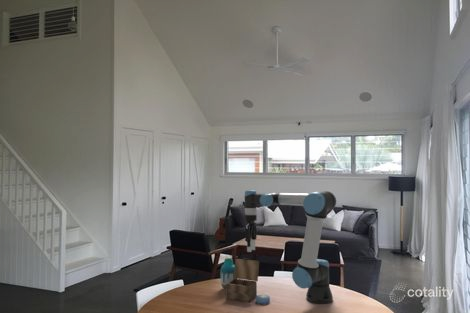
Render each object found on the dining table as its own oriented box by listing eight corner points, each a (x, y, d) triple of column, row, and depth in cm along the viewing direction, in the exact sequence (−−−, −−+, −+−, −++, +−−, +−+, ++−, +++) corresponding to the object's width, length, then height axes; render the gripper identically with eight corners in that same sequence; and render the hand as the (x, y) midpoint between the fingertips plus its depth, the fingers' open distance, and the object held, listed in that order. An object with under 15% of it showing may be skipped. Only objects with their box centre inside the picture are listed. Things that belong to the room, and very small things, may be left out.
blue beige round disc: (271, 300, 212) (271, 295, 212) (266, 305, 205) (266, 299, 205) (259, 298, 216) (258, 293, 216) (253, 303, 209) (253, 297, 209)
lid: (256, 281, 218) (257, 281, 220) (257, 259, 221) (259, 259, 223) (232, 278, 225) (234, 278, 227) (234, 257, 228) (236, 257, 230)
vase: (224, 292, 227) (223, 261, 227) (218, 287, 236) (218, 258, 237) (239, 290, 230) (239, 260, 231) (233, 285, 240) (233, 256, 241)
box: (256, 296, 219) (256, 281, 220) (249, 302, 209) (249, 286, 210) (234, 293, 226) (234, 278, 226) (226, 298, 216) (226, 283, 216)
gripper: (250, 212, 243) (251, 247, 242) (239, 215, 227) (239, 253, 226) (261, 212, 240) (261, 248, 239) (250, 216, 223) (251, 254, 222)
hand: (251, 250), depth 232 cm, fingers open, 5 cm apart
